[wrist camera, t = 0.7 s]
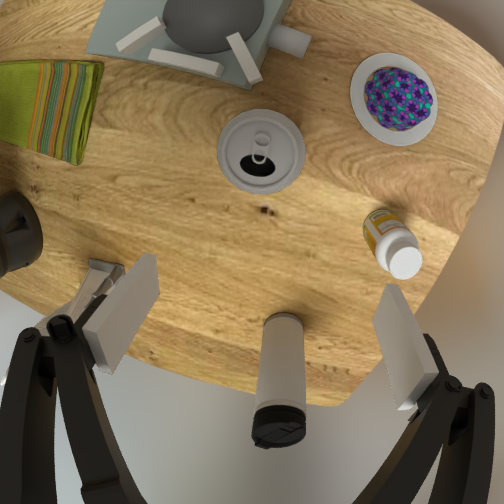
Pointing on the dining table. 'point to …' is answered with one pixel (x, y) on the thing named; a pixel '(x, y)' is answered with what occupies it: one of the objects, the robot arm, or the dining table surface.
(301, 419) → the travel mug
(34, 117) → the dish towel
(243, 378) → the dining table surface
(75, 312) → the skyscraper
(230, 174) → the can
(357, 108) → the pudding
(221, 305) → the dining table surface
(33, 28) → the dining table surface
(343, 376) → the dining table surface
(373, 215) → the supplement bottle
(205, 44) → the gearbox
